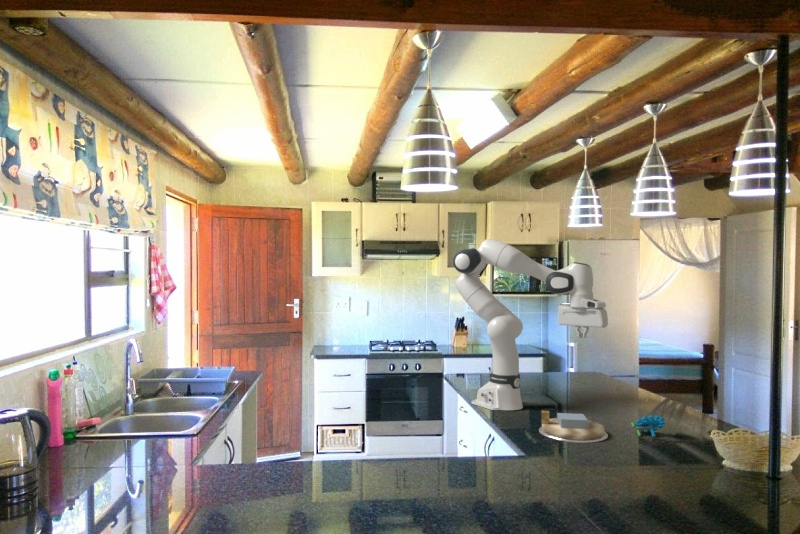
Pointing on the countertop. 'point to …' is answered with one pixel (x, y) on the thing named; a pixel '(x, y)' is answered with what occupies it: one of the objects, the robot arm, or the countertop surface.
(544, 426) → the turntable
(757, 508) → the countertop surface
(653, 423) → the blue toy animal
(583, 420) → the cover
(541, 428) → the base
